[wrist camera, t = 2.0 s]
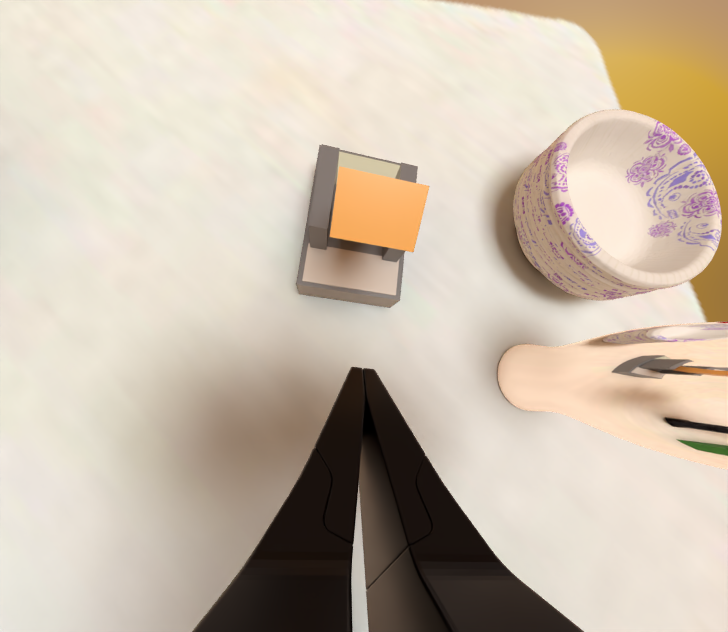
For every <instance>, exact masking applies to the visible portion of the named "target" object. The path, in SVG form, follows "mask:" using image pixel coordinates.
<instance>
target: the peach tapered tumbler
mask: <svg viewBox="0 0 728 632" xmlns="http://www.w3.org/2000/svg"><path fill="white" fill-rule="evenodd" d="M498 382H499V386H500V389H501V391H502V393H503V395H504V396H505V398H506V399H507V400H508V401H509V402H510V403H511V404H513V405H514V406H516V407H517V408H519V409H522V410H526V411H547V412H555V413H559V414H563V415H566V416H568V417H571V418H573V419H576V420H578V421H580V422H583V423H585V424H587V425H589V426H592V427H594V428H596V429H599V430H601V431H603V432H606V433H608V434H611V435H613V436H615V437H618V438H620V439H623V440H626V441H628V442H631V443H634V444H636V445H639V446H642V447H644V448H647V449H651V450H654V451H657V452H661V453H664V454H667V455H671V456H674V457H677V458H681V459H685V460H689V461H693V462H697V463H701V464H705V465H709V466H713V467H717V468H721V469H726V470H728V322H707V323H689V324H675V325H662V326H654V327H646V328H638V329H631V330H626V331H621V332H616V333H611V334H607V335H603V336H599V337H595V338H591V339H587V340H583V341H579V342H576V343H572V344H567V345H563V346H556V347H547V346H540V345H534V344H519V345H516V346H513V347H511V348H510V349H508V350H507V351H506V352H505V353H504V355H503V356H502V358H501V360H500V362H499V366H498Z"/></svg>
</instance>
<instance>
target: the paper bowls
mask: <svg viewBox="0 0 728 632" xmlns="http://www.w3.org/2000/svg"><path fill="white" fill-rule="evenodd" d="M513 208H514V209H513V214H514V222H515V227H516V230H517V236H518V240H519V243H520V246H521V249H522V251H523V252H524V254H525V256H526V257H527V259H528V260H529V261H530V263H531V264H532V265H533V266H534V267H535V268H536V269H537V270H539V271H540V272H541V273H542V274H543V275H544V276H545V277H546V278H547V279H548V280H549V281H551V282H552V283H553V284H554V285H556V286H557V287H559V288H560V289H562V290H563V291H566V292H567V293H570V294H573V295H576V296H578V297H581V298H585V299H591V300H613V299H617V298H623V297H627V296H632V295H636V294H643V293H647V292H650V291H655V290H657V289H664V288H670V287H674V286H677V285H680V284H682V283H684V282H687V281H689V280H690V279H692V278H693V277H695V276H696V275H698V274H699V273H700V272H702V271H703V269H705V267H706V266H707V265H708V264H709V262H710V261H711V260H712V258H713V256H714V254H715V252H716V250H717V248H718V244H719V241H720V236H721V225H722V224H721V220H722V219H721V208H720V203H719V199H718V196H717V193H716V190H715V187H714V184H713V182H712V180H711V177H710V175H709V173H708V172H707V170H706V168H705V166H704V164H703V163H702V162H701V160H700V159H699V157H698V156H697V155H696V153H695V152H694V151H693V150H692V148H691V147H689V145H688V144H687V143H686V142H685V141H684V140H683V139H682V138H681V137H680V136H679V135H678V134H676V133H675V132H674V131H672V129H670V128H668V127H667V126H666V125H664V124H662V123H661V122H659V121H657V120H655V119H653V118H651V117H648V116H646V115H642V114H639V113H636V112H632V111H627V110H618V109H617V110H603V111H599V112H595V113H592V114H589V115H587V116H585V117H583V118H581V119H579V120H577V121H576V122H574V123H573V124H572V125H571V126H570V127H568V128H567V130H566V131H565V132H564V133H562V134H561V135H560V136H559V137H558V138H557V139H556V140H555V141H554V142H553V143H552V144H551V145H550V146H549V147H548V148H547V149H546V150H545V151H544V152H542V153H541V154H540V155H539V156H538V157H537V158H536V159H535V160H534V161H533V162H532V163H531V164H530V165H529V166H528V167H527V168H526V169H525V170H524V172H523V173H522V176H521V177H520V179H519V181H518V183H517V186H516V190H515V197H514V199H513Z"/></svg>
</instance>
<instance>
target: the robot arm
mask: <svg viewBox="0 0 728 632" xmlns="http://www.w3.org/2000/svg"><path fill="white" fill-rule="evenodd" d="M358 483H359V490H360V505H361V520H362V535H363V550H364V565H365V580H366V589H367V591H366V597H367V612H368V627H369V632H584V631H583V630H581V629H580V628H579V627H578V626H576V625H575V624H574V623H573V622H571V621H570V620H569V619H568V618H566V617H565V616H564V615H563V614H562V613H560V612H559V611H558V610H557V609H555V608H554V607H553V606H552V605H550V604H549V603H548V602H547V601H545V600H544V599H543V598H542V597H540V596H539V595H538V594H537V593H536V592H534V591H533V590H532V589H531V588H529V587H528V586H527V585H526V584H524V583H523V582H522V581H521V580H519V579H518V578H517V577H516V576H515V575H514V574H513V573H512V572H511V571H510V570H509V569H508V568H507V567H506V566H505V565H504V564H503V563H502V562H501V561H500V560H499V559H498V557H497V556H496V555H495V554H494V552H493V551H492V550H491V549H490V547H489V546H488V545H487V543H486V542H485V540H484V539H483V538H482V536H481V535H480V534H479V532H478V531H477V529H476V528H475V527H474V525H473V524H472V523H471V521H470V520H469V519H468V517H467V516H466V514H465V513H464V512H463V510H462V509H461V508H460V506H459V505H458V503H457V502H456V501H455V499H454V498H453V496H452V495H451V494H450V492H449V491H448V489H447V488H446V486H445V485H444V483H443V482H442V480H441V479H440V477H439V476H438V474H437V472H436V471H435V469H434V468H433V466H432V464H431V463H430V461H429V459H428V458H427V456H425V453H424V451H423V449H422V448H421V446H420V445H419V443H418V441H417V440H416V438H415V436H414V435H413V433H412V431H411V430H410V428H409V426H408V425H407V423H406V421H405V420H404V418H403V416H402V415H401V413H400V411H399V410H398V408H397V406H396V405H395V403H394V401H393V400H392V398H391V396H390V395H389V393H388V391H387V390H386V388H385V386H384V385H383V383H382V381H381V380H380V378H379V376H378V375H377V373H376V371H375V370H374V369H367V368H364V369H362V368H358V367H351V369H350V371H349V373H348V375H347V377H346V379H345V382H344V384H343V386H342V388H341V390H340V392H339V394H338V397H337V399H336V401H335V403H334V405H333V407H332V410H331V412H330V414H329V416H328V418H327V420H326V422H325V425H324V427H323V429H322V431H321V433H320V435H319V438H318V440H317V442H316V444H315V446H314V449H313V450H312V452H311V454H310V457H309V459H308V461H307V463H306V465H305V467H304V469H303V471H302V473H301V475H300V477H299V478H298V480H297V482H296V484H295V485H294V487H293V489H292V490H291V492H290V494H289V496H288V497H287V499H286V500H285V502H284V504H283V505H282V507H281V508H280V510H279V512H278V513H277V515H276V516H275V518H274V520H273V521H272V523H271V524H270V526H269V528H268V529H267V531H266V532H265V534H264V536H263V537H262V539H261V540H260V542H259V544H258V545H257V547H256V548H255V550H254V551H253V553H252V554H251V556H250V557H249V559H248V560H247V562H246V563H245V565H244V566H243V567H242V569H241V570H240V572H239V573H238V574H237V576H236V577H235V578H234V580H233V581H232V582H231V584H230V585H229V586H228V587H227V589H226V590H225V591H224V592H223V594H222V595H221V596H220V597H219V599H218V600H217V601H216V602H215V604H214V605H213V606H212V607H211V609H210V610H209V611H208V612H207V614H206V615H205V616H204V618H203V619H202V620H201V621H200V623H199V624H198V625H197V626H196V628H195V629H194V630H193V631H192V632H352V592H351V572H352V553H353V541H354V530H355V518H356V506H357V494H358Z"/></svg>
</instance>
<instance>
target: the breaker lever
mask: <svg viewBox="0 0 728 632" xmlns="http://www.w3.org/2000/svg"><path fill="white" fill-rule="evenodd" d="M428 190H429V186H426V185H422V184H417V183H413V182H408V181H404V180H399V179H395V178H390V177H386V176H381V175H377V174H372V173H368V172H363V171H359V170H354V169H350V168H345V167H341V166H339V171H338V178H337V186H336V193H335V201H334V208H333V216H332V223H331V231H330V237H333V238H339V239H344V240H350V241H355V242H361V243H366V244H371V245H377V246H382V247H388V248H393V249H399V250H404V251H410V252H414V248H415V244H416V239H417V235H418V231H419V227H420V223H421V219H422V215H423V210H424V206H425V202H426V198H427V194H428Z"/></svg>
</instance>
